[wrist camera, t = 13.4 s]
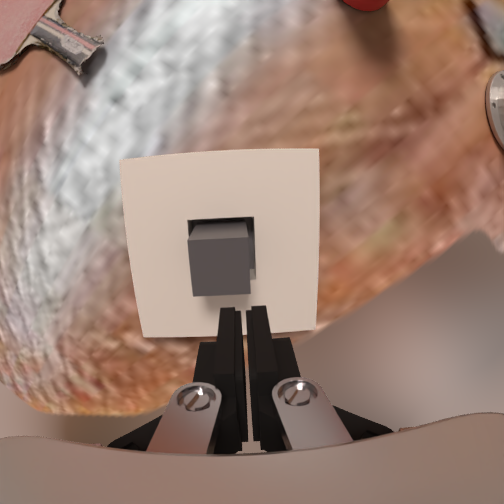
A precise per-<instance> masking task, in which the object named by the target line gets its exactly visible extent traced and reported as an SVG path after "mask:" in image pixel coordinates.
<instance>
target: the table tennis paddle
mask: <svg viewBox="0 0 504 504" xmlns="http://www.w3.org/2000/svg"><path fill="white" fill-rule="evenodd" d="M61 1H62V0H0V66H1V64H2V63H3V64H5V63H7V62H8V61H10V59H12V58H13V57H15V55H17V54H18V53H19V54H20V53H21V50H22V49H23V48H24V47H25V46H27V45H30V44H34V45H35V46H37V47H40V48H46V50H48V51H50V52H52V53H53V54H55V55H57V56H58V57H60V58H61V59H62V60H64V61H66V62H68V64H69V65H70V66H71V67H72V68H73V69H74V70H75V71H76V72H77V73H78V75H79V76H80V74H83V73H84V72H83V71H82V70H81V69H82V68H81V63H82V62H83V61H84V60H85V61H84V63H85V62H86V59H88V58H89V57H90V56H91V55H92V53H93V52H94V51H96V50H97V49H96V48H97V47H99V46H100V45H102V44H104V43H103V39H102V38H103V37H101V35H100V36H96V37H90V36H85V35H84V34H83V33H79V32H77V31H76V30H75V29H73V28H72V27H69V26H67V24H66V23H64V21H63V20H62V19H61V18H60V16H59V15H58V10H59V9H60V8H61V7H60V6H61V5H62V3H61V4H60V6H59V3H60V2H61ZM59 12H60V11H59ZM34 45H32V46H34ZM28 48H29V47H28ZM28 48H27V49H28ZM27 49H26V50H27ZM26 50H25V51H26ZM25 51H24V52H25ZM24 52H22V53H21V54H23V53H24ZM20 56H21V55H19V57H20ZM17 59H18V58H16V59H15V60H17ZM15 60H14V61H15ZM14 61H13V62H14ZM13 62H12V63H13ZM14 64H15V63H14ZM9 66H11V63H8V66H6V67H5V68H3V70H4V69H7V68H8V67H9ZM2 67H3V66H2ZM0 68H1V67H0ZM0 70H1V69H0ZM86 74H87V73H86Z"/></svg>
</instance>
